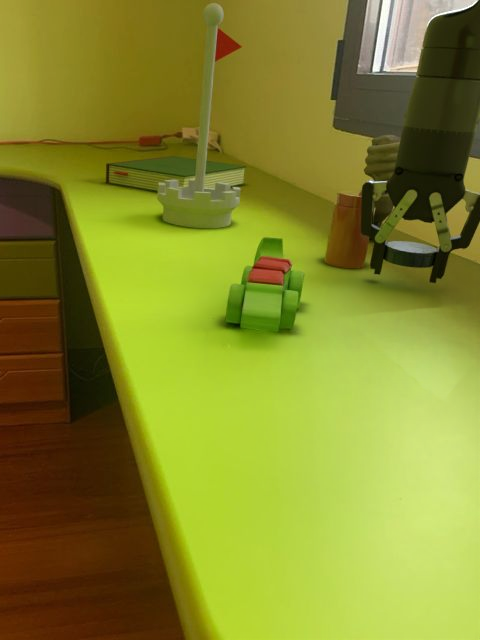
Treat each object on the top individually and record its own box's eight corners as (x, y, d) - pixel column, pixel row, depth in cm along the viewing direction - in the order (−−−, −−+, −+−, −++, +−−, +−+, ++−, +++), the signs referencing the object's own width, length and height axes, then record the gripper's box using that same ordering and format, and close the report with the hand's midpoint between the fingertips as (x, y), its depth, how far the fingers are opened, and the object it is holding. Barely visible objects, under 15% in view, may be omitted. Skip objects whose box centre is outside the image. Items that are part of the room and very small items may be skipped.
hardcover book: (172, 173, 158) (173, 155, 156) (244, 184, 148) (246, 166, 147) (103, 183, 139) (103, 163, 137) (181, 197, 130) (182, 176, 128)
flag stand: (177, 230, 103) (193, -4, 89) (143, 213, 114) (153, 0, 100) (252, 228, 108) (278, 5, 94) (213, 211, 119) (231, 9, 105)
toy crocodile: (288, 352, 61) (298, 285, 58) (214, 342, 62) (221, 276, 60) (303, 292, 78) (312, 238, 75) (245, 285, 79) (251, 232, 77)
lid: (380, 263, 80) (383, 248, 79) (384, 252, 85) (387, 238, 84) (433, 270, 79) (437, 255, 78) (434, 259, 83) (438, 245, 83)
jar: (358, 259, 94) (371, 191, 90) (368, 269, 89) (383, 198, 85) (320, 257, 94) (331, 189, 90) (329, 267, 89) (341, 196, 85)
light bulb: (391, 246, 103) (414, 137, 96) (355, 244, 102) (375, 135, 95) (381, 237, 107) (402, 133, 100) (346, 235, 107) (365, 131, 100)
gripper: (368, 120, 74) (340, 275, 82) (513, 133, 70) (468, 295, 77) (375, 117, 80) (348, 261, 88) (508, 129, 76) (467, 279, 84)
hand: (404, 276), depth 83 cm, fingers closed on lid, 5 cm apart
